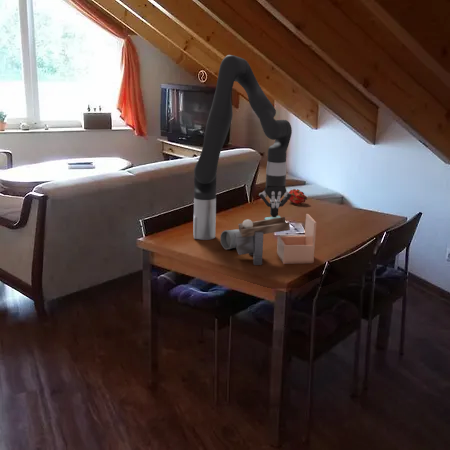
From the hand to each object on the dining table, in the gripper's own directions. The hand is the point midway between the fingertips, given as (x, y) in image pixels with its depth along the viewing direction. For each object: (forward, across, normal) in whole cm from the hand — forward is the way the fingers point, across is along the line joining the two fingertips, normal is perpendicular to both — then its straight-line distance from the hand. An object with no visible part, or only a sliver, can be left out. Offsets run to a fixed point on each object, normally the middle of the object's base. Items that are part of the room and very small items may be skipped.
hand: (274, 216), depth 216 cm
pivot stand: (+14, -8, -8) cm, 18 cm away
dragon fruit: (+15, +29, +75) cm, 82 cm away
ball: (+1, -12, -8) cm, 14 cm away
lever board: (+10, -5, -4) cm, 12 cm away
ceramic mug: (+15, -16, +7) cm, 23 cm away
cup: (+14, +7, -8) cm, 18 cm away
